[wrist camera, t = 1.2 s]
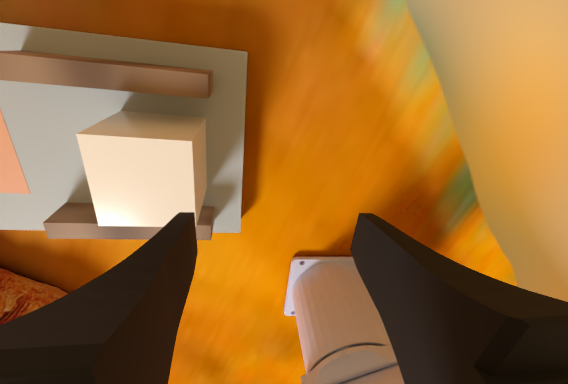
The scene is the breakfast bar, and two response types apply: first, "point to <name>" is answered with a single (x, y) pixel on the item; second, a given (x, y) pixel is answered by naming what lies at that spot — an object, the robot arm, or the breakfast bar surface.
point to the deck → (100, 105)
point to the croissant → (23, 295)
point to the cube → (145, 167)
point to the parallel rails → (109, 76)
